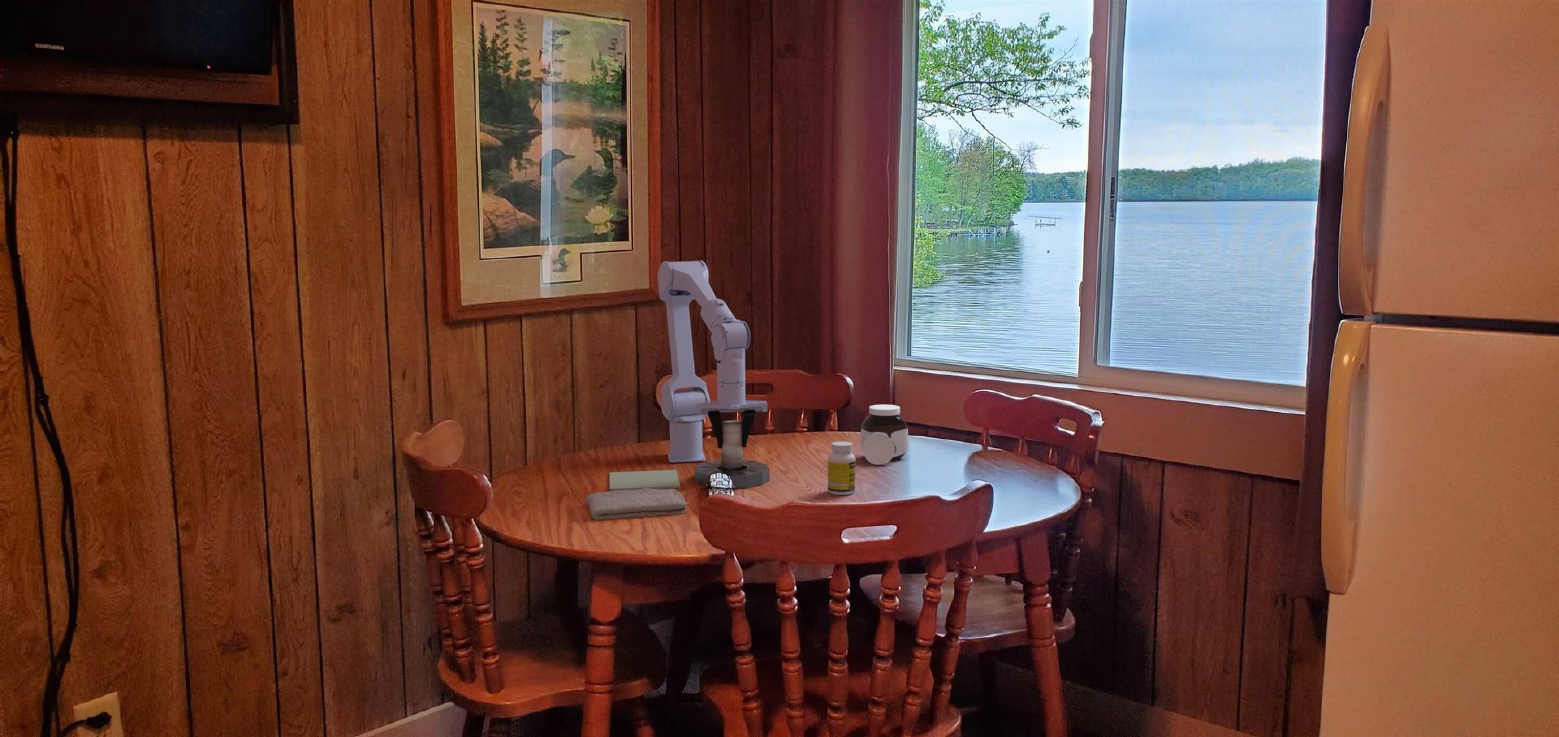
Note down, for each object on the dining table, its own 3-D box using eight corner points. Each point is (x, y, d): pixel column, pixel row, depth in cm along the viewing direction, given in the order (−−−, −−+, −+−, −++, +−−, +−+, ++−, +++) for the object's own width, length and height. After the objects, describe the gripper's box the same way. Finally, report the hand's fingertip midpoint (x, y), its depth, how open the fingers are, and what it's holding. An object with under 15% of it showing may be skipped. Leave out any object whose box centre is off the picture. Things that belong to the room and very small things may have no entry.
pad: (609, 474, 229) (609, 472, 229) (676, 471, 231) (676, 469, 231) (609, 490, 215) (609, 488, 215) (680, 487, 217) (680, 485, 217)
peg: (720, 463, 225) (719, 421, 224) (741, 462, 226) (741, 420, 225) (722, 468, 221) (722, 425, 220) (744, 467, 222) (743, 424, 220)
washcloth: (690, 516, 199) (690, 499, 198) (591, 523, 194) (591, 507, 193) (679, 500, 210) (678, 484, 210) (585, 507, 205) (584, 491, 205)
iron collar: (693, 472, 230) (693, 461, 230) (763, 469, 232) (763, 458, 232) (699, 490, 215) (698, 477, 215) (773, 486, 218) (773, 474, 217)
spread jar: (897, 453, 248) (898, 402, 246) (919, 463, 237) (919, 411, 236) (848, 457, 244) (848, 406, 243) (868, 468, 234) (868, 414, 232)
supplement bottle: (853, 496, 210) (853, 446, 208) (825, 495, 211) (825, 445, 210) (857, 489, 215) (857, 441, 214) (830, 488, 216) (830, 440, 215)
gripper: (697, 385, 216) (698, 452, 218) (769, 383, 218) (769, 449, 220) (694, 380, 223) (695, 445, 225) (764, 378, 225) (764, 442, 227)
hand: (731, 446), depth 223 cm, fingers closed on peg, 4 cm apart
